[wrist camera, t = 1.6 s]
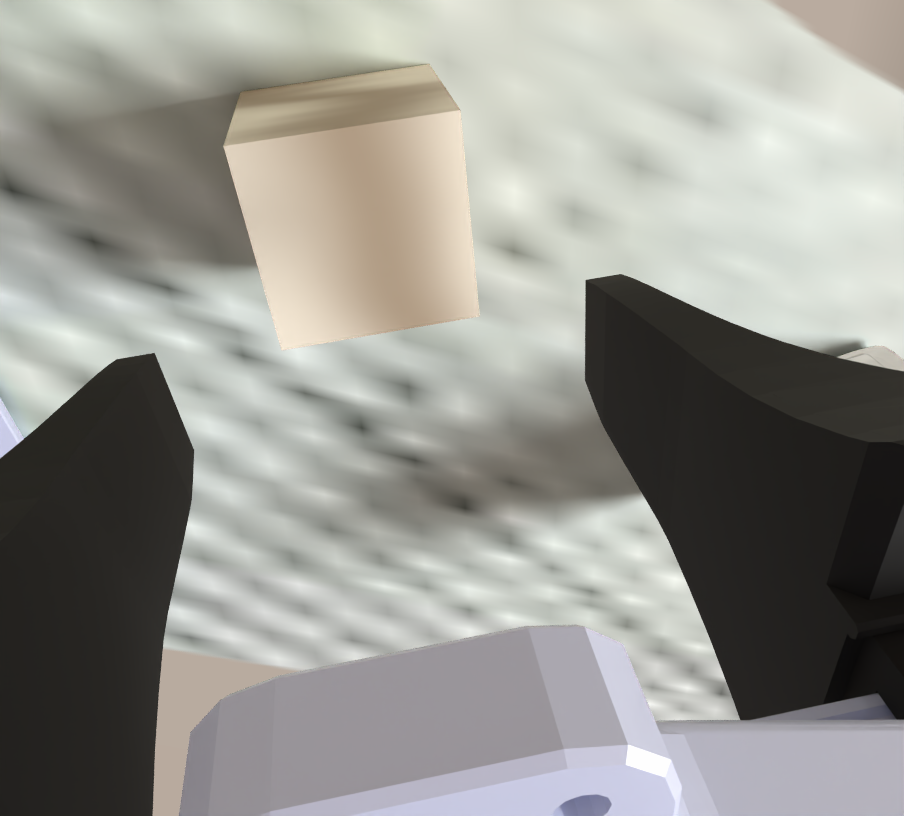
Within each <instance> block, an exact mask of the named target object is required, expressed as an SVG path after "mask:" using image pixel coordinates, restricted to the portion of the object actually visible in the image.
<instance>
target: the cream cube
mask: <svg viewBox="0 0 904 816" xmlns="http://www.w3.org/2000/svg"><path fill="white" fill-rule="evenodd" d="M224 150H225V154H226V157H227V161H228V164H229V168H230V171H231V175H232V178H233V182H234V185H235V189H236V192H237V196H238V199H239V203H240V206H241V210H242V213H243V217H244V220H245V224H246V227H247V231H248V234H249V238H250V241H251V245H252V248H253V252H254V255H255V259H256V262H257V266H258V269H259V273H260V276H261V280H262V283H263V287H264V290H265V294H266V297H267V301H268V304H269V308H270V311H271V315H272V318H273V322H274V325H275V329H276V332H277V336H278V339H279V343H280V346H281V350H287V349H293V348H299V347H305V346H310V345H316V344H322V343H328V342H334V341H339V340H345V339H351V338H357V337H363V336H368V335H374V334H380V333H386V332H392V331H397V330H403V329H409V328H415V327H421V326H426V325H432V324H438V323H444V322H450V321H455V320H461V319H467V318H473V317H479V316H480V315H479V304H478V294H477V283H476V272H475V262H474V251H473V240H472V229H471V219H470V208H469V197H468V187H467V176H466V165H465V154H464V144H463V133H462V122H461V112H460V109H459V107H458V106H457V104H456V103H455V101H454V100H453V98H452V97H451V95H450V94H449V92H448V91H447V90H446V88H445V87H444V85H443V84H442V82H441V81H440V79H439V78H438V76H437V75H436V73H435V72H434V70H433V69H432V67H431V66H430V64H425V65H419V66H412V67H405V68H398V69H392V70H385V71H378V72H371V73H365V74H358V75H351V76H344V77H338V78H331V79H324V80H317V81H311V82H304V83H297V84H290V85H284V86H277V87H270V88H263V89H256V90H250V91H243V92H240V95H239V99H238V102H237V105H236V108H235V111H234V114H233V118H232V121H231V124H230V127H229V130H228V133H227V137H226V140H225V143H224Z"/></svg>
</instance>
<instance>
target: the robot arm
mask: <svg viewBox="0 0 904 816" xmlns="http://www.w3.org/2000/svg"><path fill="white" fill-rule="evenodd" d="M585 381H586V384H587V387H588V389H589V392H590V394H591V397H592V400H593V402H594V405H595V407H596V410H597V412H598V415H599V417H600V420H601V422H602V424H603V427H604V428H605V430H606V432H607V434H608V435H609V437H610V439H611V441H612V442H613V444H614V446H615V448H616V449H617V451H618V453H619V455H620V456H621V458H622V460H623V462H624V463H625V465H626V467H627V468H628V470H629V472H630V473H631V475H632V477H633V479H634V480H635V482H636V484H637V485H638V487H639V489H640V490H641V492H642V494H643V496H644V497H645V499H646V501H647V502H648V504H649V506H650V507H651V509H652V511H653V513H654V514H655V516H656V518H657V519H658V521H659V523H660V525H661V527H662V529H663V531H664V533H665V535H666V537H667V539H668V541H669V543H670V545H671V547H672V550H673V552H674V554H675V557H676V559H677V561H678V563H679V566H680V568H681V570H682V573H683V575H684V577H685V579H686V582H687V584H688V586H689V589H690V591H691V594H692V596H693V598H694V601H695V603H696V606H697V608H698V611H699V613H700V615H701V618H702V620H703V623H704V625H705V628H706V630H707V633H708V635H709V637H710V640H711V643H712V645H713V648H714V650H715V653H716V656H717V658H718V661H719V664H720V666H721V669H722V671H723V674H724V677H725V679H726V682H727V685H728V687H729V690H730V692H731V695H732V698H733V700H734V703H735V706H736V709H737V712H738V715H739V717H740V720H687V721H655V720H654V717H653V715H652V712H651V710H650V708H649V705H648V703H647V700H646V698H645V695H644V693H643V691H642V688H641V686H640V683H639V681H638V679H637V676H636V674H635V671H634V669H633V666H632V664H631V662H630V659H629V657H628V654H627V652H626V650H625V647H624V645H623V644H622V643H620V642H618V641H615V640H613V639H611V638H609V637H606V636H604V635H602V634H600V633H597V632H595V631H593V630H591V629H588V628H586V627H583V626H579V625H550V626H524V627H519V628H514V629H509V630H504V631H499V632H494V633H489V634H484V635H479V636H474V637H469V638H464V639H459V640H454V641H450V642H445V643H440V644H435V645H430V646H425V647H420V648H415V649H410V650H405V651H400V652H395V653H390V654H385V655H380V656H375V657H370V658H365V659H360V660H355V661H350V662H345V663H340V664H335V665H330V666H325V667H320V668H315V669H310V670H305V671H300V672H295V673H290V674H285V675H280V676H277V677H274V678H271V679H269V680H266V681H264V682H261V683H258V684H256V685H253V686H250V687H248V688H245V689H243V690H240V691H237V692H235V693H232V694H230V695H228V696H227V697H225V698H223V699H221V700H220V701H219V702H218V703H217V704H216V705H215V706H214V708H213V709H212V710H211V711H210V712H209V713H208V714H207V715H206V716H205V717H204V718H203V719H202V721H201V722H200V723H199V724H198V725H197V726H196V727H195V728H194V729H193V730H192V731H191V732H190V740H189V747H188V754H187V761H186V769H185V776H184V783H183V790H182V797H181V805H180V812H179V816H904V371H900V370H894V369H888V368H884V367H879V366H874V365H869V364H865V363H860V362H855V361H851V360H846V359H842V358H838V357H834V356H830V355H826V354H822V353H818V352H815V351H812V350H808V349H805V348H802V347H798V346H795V345H792V344H788V343H785V342H782V341H779V340H776V339H773V338H770V337H767V336H764V335H761V334H759V333H756V332H754V331H751V330H748V329H746V328H743V327H741V326H738V325H736V324H733V323H730V322H728V321H726V320H723V319H721V318H719V317H716V316H714V315H712V314H709V313H707V312H705V311H703V310H700V309H698V308H696V307H694V306H692V305H689V304H687V303H685V302H683V301H681V300H679V299H677V298H674V297H672V296H670V295H668V294H666V293H664V292H662V291H660V290H658V289H655V288H653V287H651V286H649V285H647V284H645V283H642V282H640V281H638V280H636V279H633V278H631V277H628V276H625V275H622V274H619V275H613V276H607V277H601V278H595V279H589V280H586V319H585ZM193 464H194V449H193V447H192V444H191V442H190V439H189V437H188V434H187V432H186V429H185V427H184V425H183V422H182V420H181V417H180V415H179V412H178V410H177V407H176V405H175V402H174V400H173V397H172V395H171V392H170V390H169V388H168V385H167V383H166V380H165V378H164V375H163V373H162V370H161V368H160V365H159V363H158V360H157V358H156V356H155V353H152V354H146V355H140V356H134V357H128V358H122V359H117V360H115V361H114V362H112V363H111V364H109V365H108V366H107V367H105V368H104V369H103V370H102V371H101V372H99V373H98V374H97V375H96V376H95V377H94V378H92V379H91V380H90V381H89V382H88V383H87V384H86V385H84V386H83V387H82V388H81V389H80V390H79V391H78V392H77V393H76V394H75V395H73V396H72V397H71V398H70V399H69V400H68V401H67V402H66V403H65V404H63V405H62V406H61V407H60V408H59V409H58V410H57V411H56V412H54V413H53V414H52V415H51V416H50V417H49V418H48V419H47V420H46V421H44V422H43V423H42V424H41V425H40V426H39V427H38V428H37V429H35V430H34V431H33V432H32V433H31V434H29V435H28V436H27V437H26V438H23V436H22V435H21V433H20V431H19V429H18V428H17V426H16V424H15V422H14V421H13V419H12V417H11V415H10V414H9V412H8V410H7V409H6V407H5V405H4V403H3V402H2V400H1V398H0V816H152V811H153V786H154V785H153V784H154V759H155V758H154V757H155V739H156V725H157V709H158V693H159V683H160V672H161V661H162V650H163V640H164V633H165V627H166V621H167V615H168V610H169V605H170V600H171V596H172V591H173V587H174V582H175V577H176V573H177V568H178V563H179V559H180V554H181V550H182V545H183V540H184V536H185V531H186V526H187V521H188V516H189V511H190V506H191V500H192V485H193Z"/></svg>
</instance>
